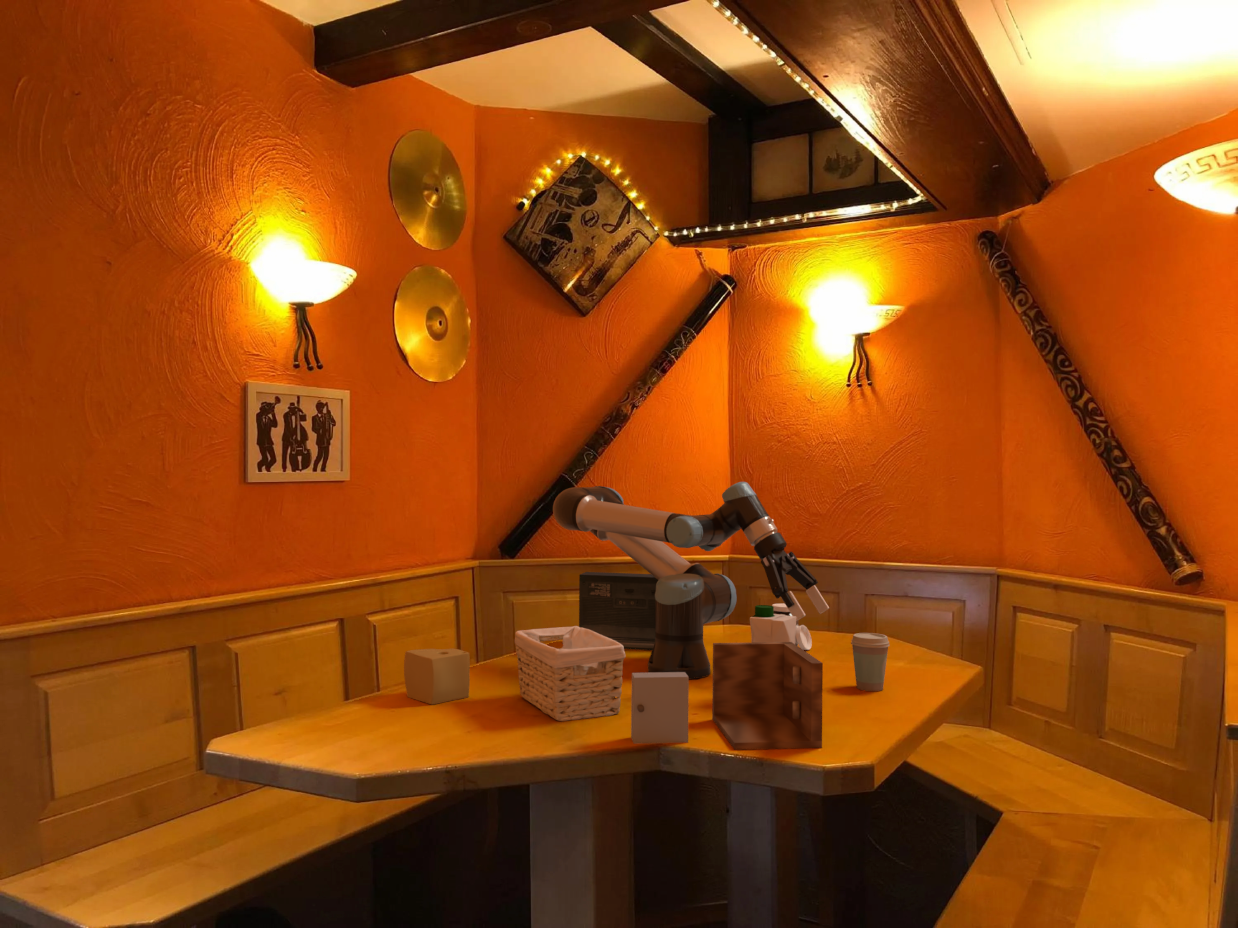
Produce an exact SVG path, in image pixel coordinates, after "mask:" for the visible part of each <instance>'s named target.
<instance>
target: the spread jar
mask: <svg viewBox="0 0 1238 928" xmlns="http://www.w3.org/2000/svg"><path fill="white" fill-rule="evenodd" d="M771 606H773V607H774V614H783V615H786V616H792V615H791V613H790V611H789V610H788V608H787V606H786V605H785V603H773V604H772V605H771ZM812 641H813V640H812V636H811V633H810V630H809V629H808V627H807V626H806V625H804V624H801V625H799V620H798V621H796V635H795V645H796V646H798V647H799V648H801V649H802V650H805V651H809V650H811V648H812V646H813V645H812V644H813V642H812Z"/></svg>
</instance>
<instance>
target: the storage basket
mask: <svg viewBox="0 0 1238 928" xmlns="http://www.w3.org/2000/svg"><path fill="white" fill-rule="evenodd" d="M514 634H515V635H514V636H515V637H514V645H515V649H516V651H515V652H516V656H517V669H518V683H519V684H518V685H519V694H520V696H521V697H522V698H523V699H524V700H526V701H528V702H529V703H531V705H533V706H535V707H536V708H538V709H540V711H541V712H542V713H544V714H546V715H548V716H550V718H552V719H554V720H555V721H559V722H567V721H571V720H572V721H577V720H581V719H583V720H584V719H593V718H600V717H610V716H613V715H617V714H619V713H620V711H621V708H620V707H621V700H622V699H621V695H622V685H623V677H622V676H623V668H624V667H623V664H624V659H625V658H626V652H625V649H624V646H623V645H622V644H620V643H618V642H616V641H615V640H612V639H610V638H608V637H605V636H603V635H600V634H598V633H596V632H594V631H592V630H589V629H585V628H582V627H581V628H580V627H579V625H574V626H562V627H559V626H558V627H548V628H547V627H546V628H545V627H544V628H532V629H526V630H524V629H521V630H517V631H515V633H514ZM559 640H562V643H561V644H562V647H561V648H556V647H555V646H554V647H553V646H549V645H547V644H546V643H543V642H548V641H549V642H550V641H553V642H554V641H559Z"/></svg>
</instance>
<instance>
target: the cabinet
mask: <svg viewBox="0 0 1238 928" xmlns="http://www.w3.org/2000/svg"><path fill="white" fill-rule="evenodd" d="M823 664H824V663H823V662H821V661H820V660H819V659H817V658H816V657H814V656H813V655H811V654H810V653H809V652H807V651H806V650H805V651H804V650H802V649H801V648H800V646H799V645H798V646H796V645H795V644H794V643H792V642H762V643H752V642H713V643H712V703H711V704H712V706H711V707H712V714H711V716H712V721H713V722H714V724H715V725H716V727H718V729H719V730H720V732H721V733H722V735H723V736H724V737H725V739H726V740H727V742H728V743H729V744H730V746H731V747H732V749H734V751H735V750H737V751H738V750H769V749H770V750H772V749H773V750H775V749H777V750H779V749H819V748H820V749H821V748H822V749H823V681H824V680H823V677H824V676H823V672H824V671H823Z"/></svg>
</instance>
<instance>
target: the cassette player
mask: <svg viewBox="0 0 1238 928" xmlns="http://www.w3.org/2000/svg"><path fill="white" fill-rule="evenodd" d="M578 576H579V580H578V581H579V583H578V585H579V586H578V588H579V593H578V594H579V595H578V599H579V601H578V603H579V604H578V627H580V628H581V627H582V628H585V629H589V630H592V631H594V632H596V633H598V634H600V635H603V636H605V637H608V638H610V639H612V640H615V641H616V642H618V643H620V644H622V645H623V646H624V650H636V651H637V650H638V651H640V650H641V651H652V649H653V646H654V643H655V592H656V584H657V582H658V579H657V578H655V577H654V576H653V575H652V574H650V573H628V572H627V573H626V572H625V573H624V572H623V573H622V572H601V571H600V572H598V571H596V572H595V571H585V572H583V573H580V574H579V575H578Z"/></svg>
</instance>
